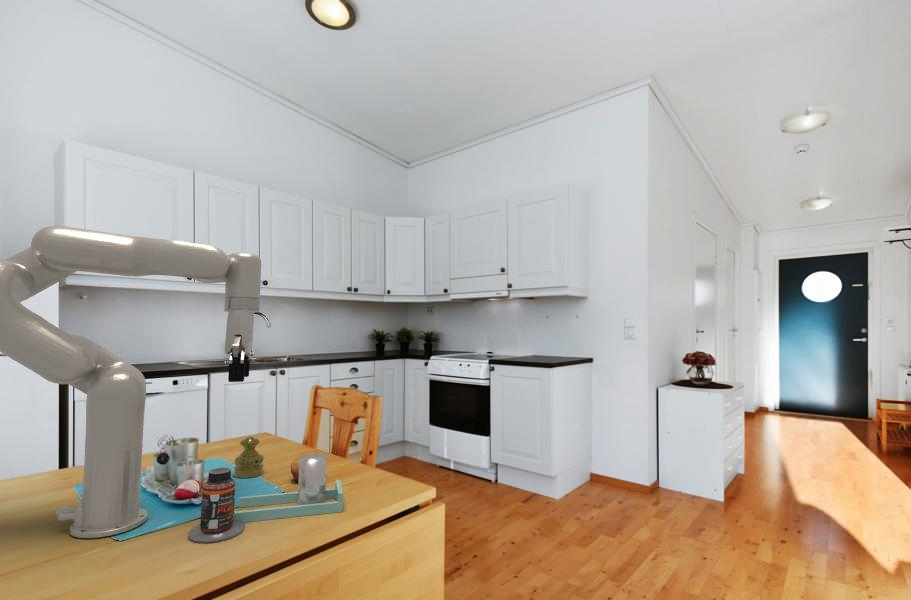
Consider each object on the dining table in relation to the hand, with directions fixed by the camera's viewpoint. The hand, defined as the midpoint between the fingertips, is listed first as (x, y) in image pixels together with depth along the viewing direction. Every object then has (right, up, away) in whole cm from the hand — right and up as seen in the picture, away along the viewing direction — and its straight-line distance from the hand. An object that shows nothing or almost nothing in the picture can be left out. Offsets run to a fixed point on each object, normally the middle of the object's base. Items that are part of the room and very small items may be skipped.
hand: (239, 379), depth 107 cm
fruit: (+11, -30, +15) cm, 35 cm away
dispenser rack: (+13, -28, -4) cm, 32 cm away
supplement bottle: (+3, -27, -16) cm, 32 cm away
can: (+18, -29, -3) cm, 34 cm away
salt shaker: (-6, -30, +19) cm, 35 cm away
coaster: (+3, -28, -16) cm, 32 cm away
